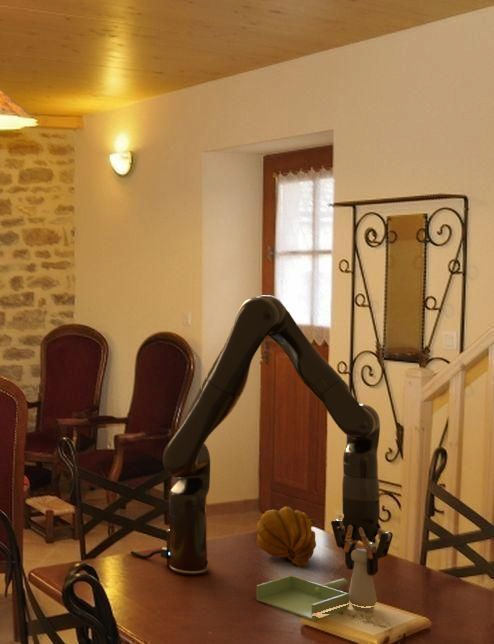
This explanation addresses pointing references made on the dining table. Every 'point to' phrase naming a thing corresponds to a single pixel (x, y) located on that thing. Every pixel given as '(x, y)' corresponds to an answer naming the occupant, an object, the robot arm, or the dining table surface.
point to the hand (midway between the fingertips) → (361, 571)
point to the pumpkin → (287, 535)
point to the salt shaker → (361, 583)
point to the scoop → (304, 596)
